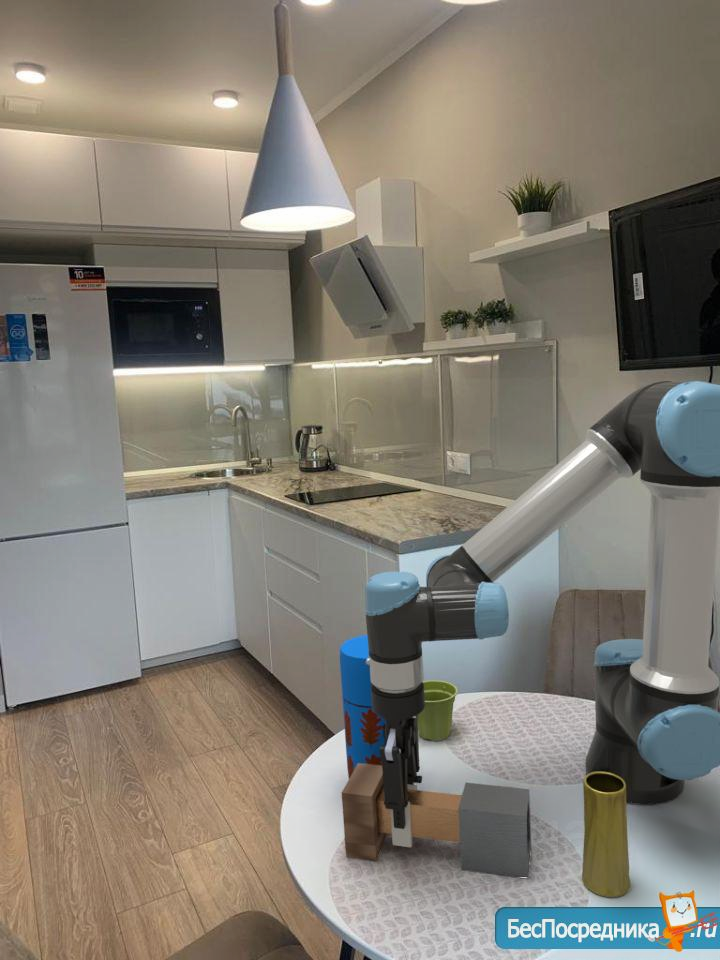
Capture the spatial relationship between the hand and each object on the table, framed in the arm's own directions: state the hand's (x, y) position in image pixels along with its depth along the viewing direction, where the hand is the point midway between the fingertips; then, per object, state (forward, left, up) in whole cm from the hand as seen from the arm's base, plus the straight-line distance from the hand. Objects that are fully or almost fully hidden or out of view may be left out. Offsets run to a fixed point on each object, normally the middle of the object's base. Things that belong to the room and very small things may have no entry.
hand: (406, 834), depth 105 cm
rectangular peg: (-2, 0, +1) cm, 3 cm away
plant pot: (+3, -33, -2) cm, 34 cm away
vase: (-27, +2, -2) cm, 28 cm away
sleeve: (-13, 0, -2) cm, 13 cm away
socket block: (+6, 0, -2) cm, 6 cm away
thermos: (+8, -13, -2) cm, 16 cm away
